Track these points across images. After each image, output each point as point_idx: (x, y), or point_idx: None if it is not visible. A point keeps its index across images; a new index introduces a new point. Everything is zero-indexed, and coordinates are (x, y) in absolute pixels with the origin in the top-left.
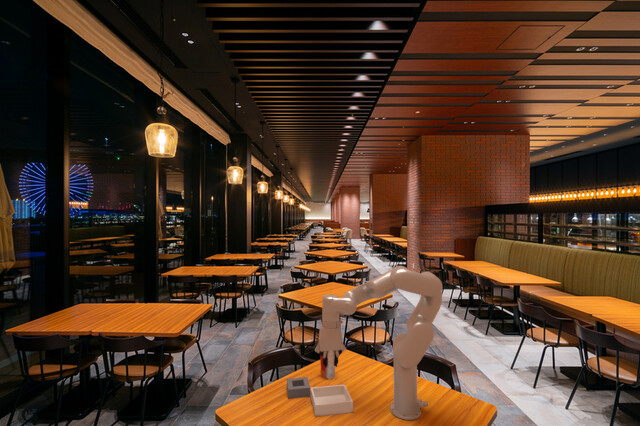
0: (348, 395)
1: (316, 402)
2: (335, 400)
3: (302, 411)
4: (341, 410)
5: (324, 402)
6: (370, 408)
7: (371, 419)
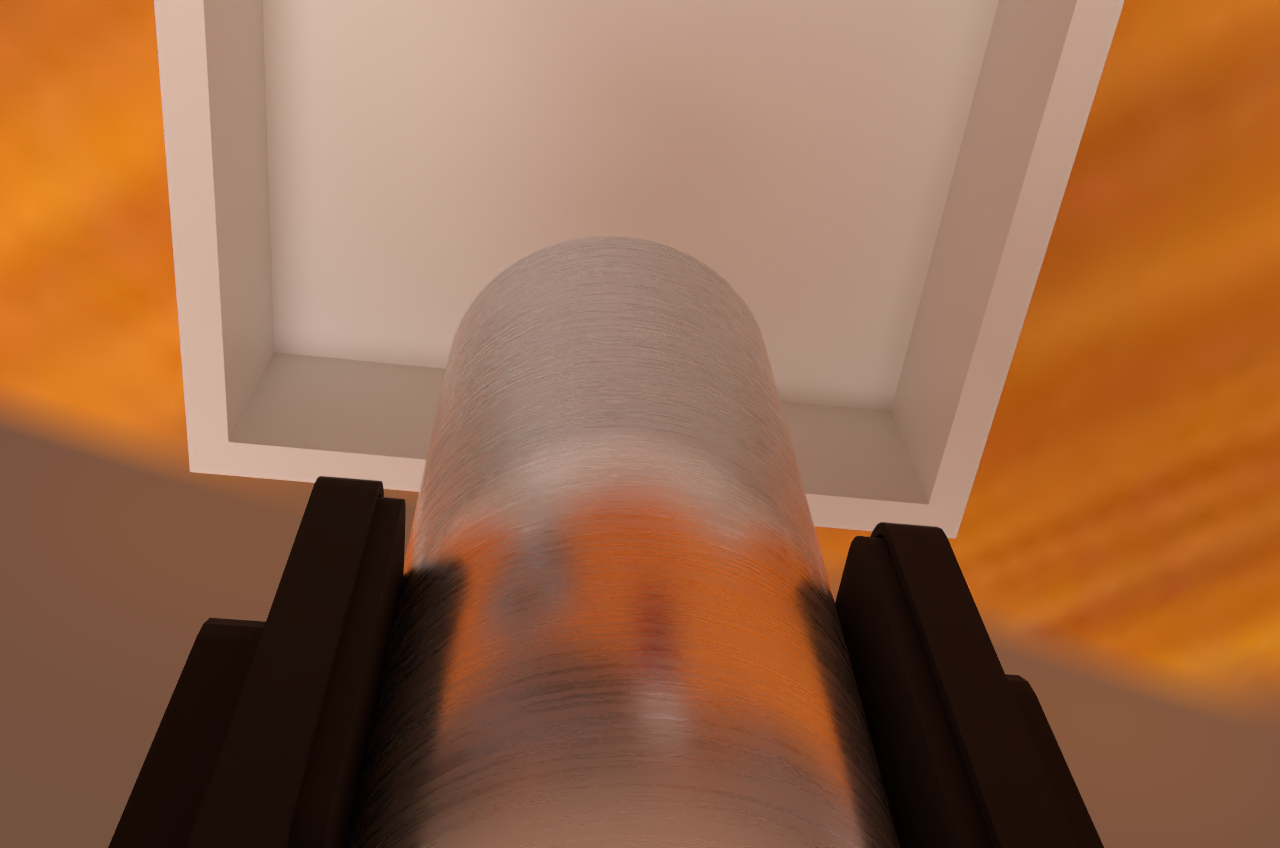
0: (983, 337)
1: (223, 393)
2: (751, 42)
3: (8, 162)
4: None
5: (494, 49)
6: (1246, 407)
7: (1075, 628)
